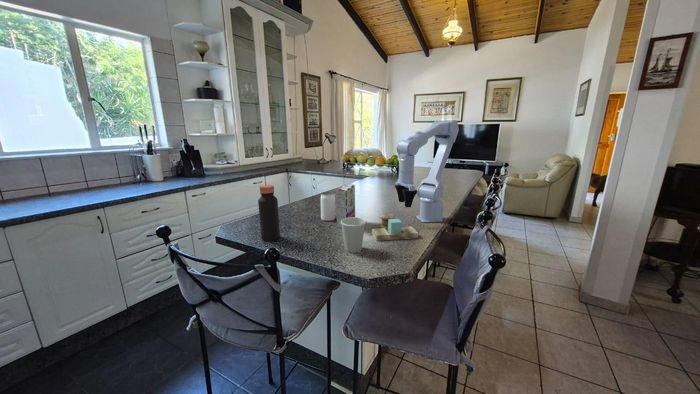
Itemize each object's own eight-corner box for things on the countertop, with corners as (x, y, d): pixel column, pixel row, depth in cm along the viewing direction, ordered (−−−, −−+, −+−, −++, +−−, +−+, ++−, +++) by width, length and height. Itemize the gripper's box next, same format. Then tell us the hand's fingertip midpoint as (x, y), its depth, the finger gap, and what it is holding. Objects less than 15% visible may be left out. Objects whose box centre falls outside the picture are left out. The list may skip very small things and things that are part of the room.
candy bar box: (344, 219, 124) (344, 183, 120) (355, 220, 122) (355, 184, 118) (335, 227, 113) (335, 189, 109) (347, 229, 112) (346, 190, 108)
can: (333, 221, 121) (332, 195, 118) (319, 220, 122) (318, 194, 119) (336, 217, 127) (336, 192, 124) (323, 216, 128) (322, 191, 125)
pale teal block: (397, 233, 107) (398, 218, 106) (401, 237, 104) (401, 222, 102) (387, 233, 107) (388, 219, 105) (390, 237, 103) (391, 222, 101)
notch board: (411, 231, 109) (411, 226, 109) (417, 237, 103) (418, 232, 102) (371, 233, 107) (372, 228, 107) (376, 240, 100) (376, 235, 100)
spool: (392, 224, 117) (392, 213, 116) (396, 229, 112) (397, 217, 110) (378, 225, 116) (378, 213, 115) (382, 230, 111) (382, 218, 109)
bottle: (257, 240, 101) (252, 187, 96) (269, 233, 107) (265, 183, 102) (272, 243, 99) (268, 188, 94) (283, 236, 105) (280, 185, 100)
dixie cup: (356, 242, 99) (356, 215, 97) (370, 250, 92) (370, 222, 90) (336, 247, 95) (336, 219, 92) (349, 256, 88) (349, 227, 86)
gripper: (391, 168, 114) (390, 200, 117) (402, 174, 100) (401, 210, 103) (407, 168, 115) (405, 199, 118) (421, 173, 101) (418, 209, 105)
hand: (404, 204), depth 111 cm, fingers open, 7 cm apart
